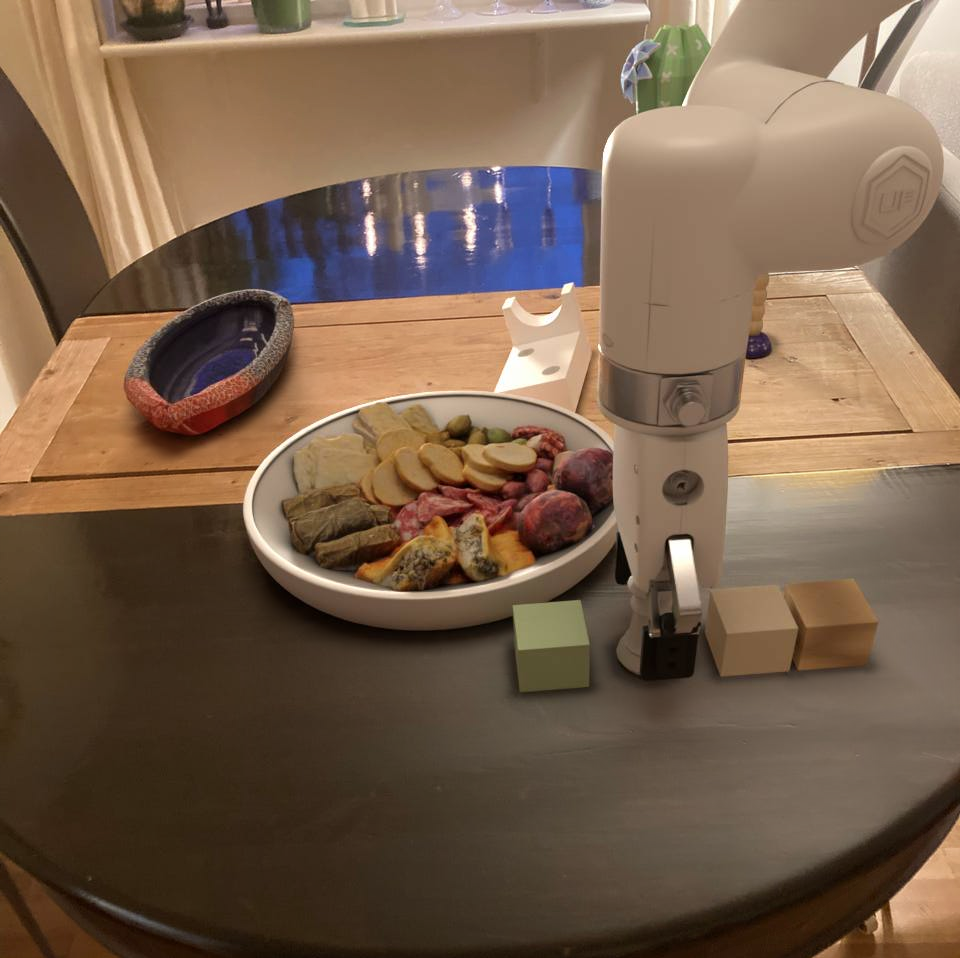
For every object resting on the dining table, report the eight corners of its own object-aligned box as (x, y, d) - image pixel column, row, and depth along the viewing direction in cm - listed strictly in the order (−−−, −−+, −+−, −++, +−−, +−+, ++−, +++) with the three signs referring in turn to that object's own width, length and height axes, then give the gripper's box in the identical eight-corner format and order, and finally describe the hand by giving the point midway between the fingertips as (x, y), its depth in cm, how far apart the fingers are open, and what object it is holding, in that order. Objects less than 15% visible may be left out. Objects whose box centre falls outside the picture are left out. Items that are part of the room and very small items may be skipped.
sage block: (580, 650, 66) (580, 599, 63) (589, 696, 62) (590, 644, 59) (514, 655, 66) (512, 605, 63) (520, 701, 62) (517, 650, 59)
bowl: (201, 644, 68) (172, 555, 63) (313, 437, 91) (297, 358, 86) (623, 664, 64) (628, 570, 59) (631, 441, 86) (635, 359, 81)
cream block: (768, 635, 65) (778, 584, 63) (787, 680, 62) (798, 628, 59) (703, 641, 66) (709, 589, 63) (719, 686, 62) (726, 633, 59)
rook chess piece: (646, 700, 61) (654, 603, 56) (600, 664, 64) (603, 569, 59) (696, 670, 63) (707, 573, 58) (649, 636, 66) (655, 542, 61)
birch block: (841, 630, 65) (854, 578, 63) (864, 674, 62) (879, 621, 59) (775, 635, 65) (785, 583, 63) (795, 680, 62) (806, 627, 59)
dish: (327, 323, 111) (320, 280, 108) (243, 458, 88) (230, 409, 85) (201, 323, 113) (190, 281, 110) (87, 455, 91) (69, 407, 87)
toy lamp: (725, 340, 101) (744, 171, 90) (770, 338, 101) (794, 169, 90) (732, 360, 98) (753, 186, 87) (779, 358, 97) (805, 183, 86)
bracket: (527, 367, 101) (506, 298, 97) (591, 352, 99) (573, 282, 94) (504, 426, 92) (480, 354, 88) (575, 412, 89) (553, 337, 85)
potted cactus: (631, 232, 128) (640, 12, 112) (745, 243, 123) (773, 13, 106) (590, 272, 118) (593, 37, 102) (712, 286, 113) (737, 39, 96)
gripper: (789, 454, 44) (744, 717, 55) (703, 307, 57) (681, 543, 68) (625, 467, 44) (614, 727, 55) (577, 317, 57) (576, 552, 68)
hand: (651, 625), depth 61 cm, fingers open, 9 cm apart
